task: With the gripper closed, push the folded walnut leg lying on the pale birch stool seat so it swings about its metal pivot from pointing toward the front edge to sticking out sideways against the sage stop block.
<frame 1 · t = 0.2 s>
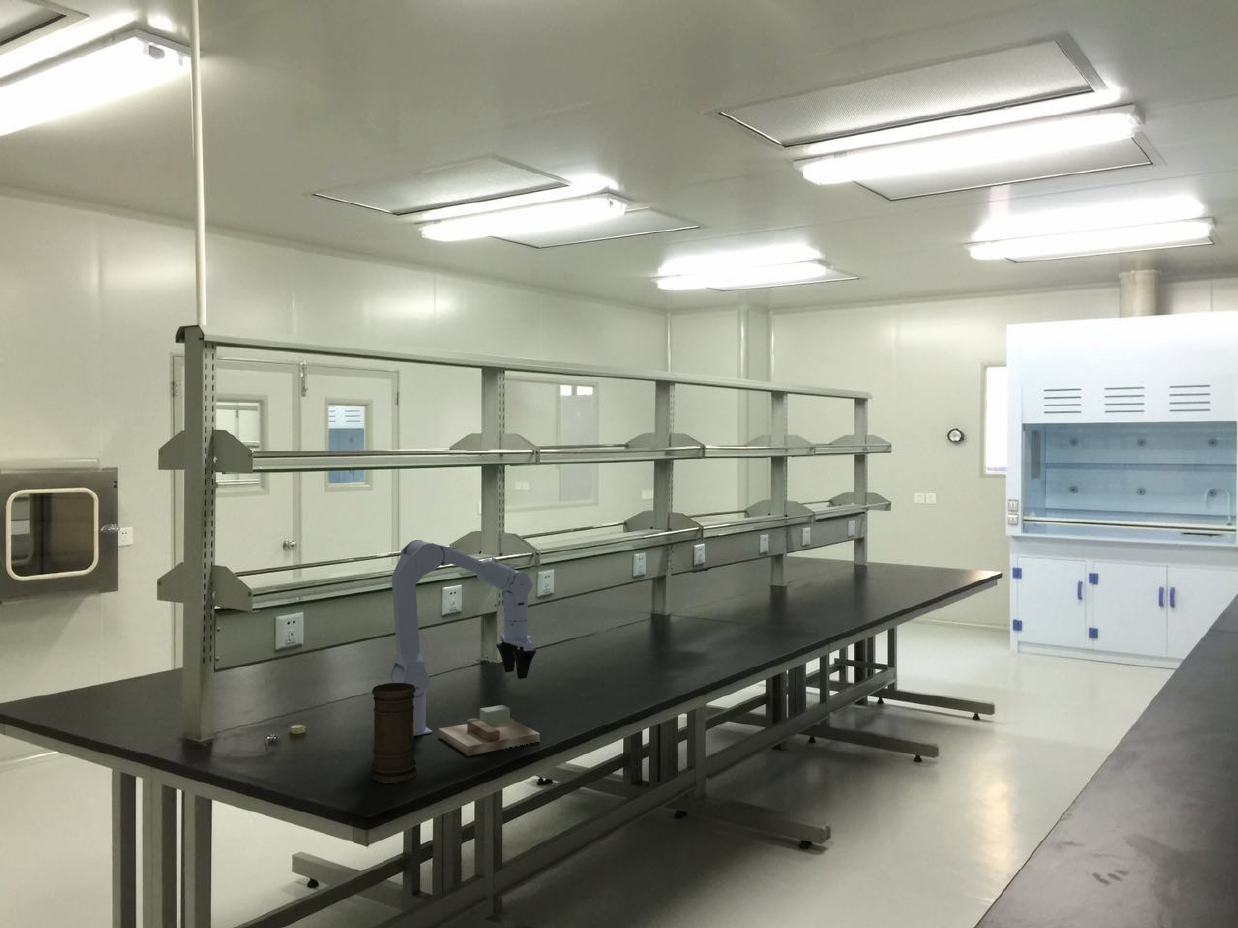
hand: (515, 674, 243), 10 cm above the table, tool pointing down, fingers open, 7 cm apart
stool leg: (482, 729, 220), point 3 cm above the table, hinge at 0.0°
container: (394, 777, 199), on the table
stool seat: (489, 739, 224), on the table
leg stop: (494, 730, 231), resting on stool seat
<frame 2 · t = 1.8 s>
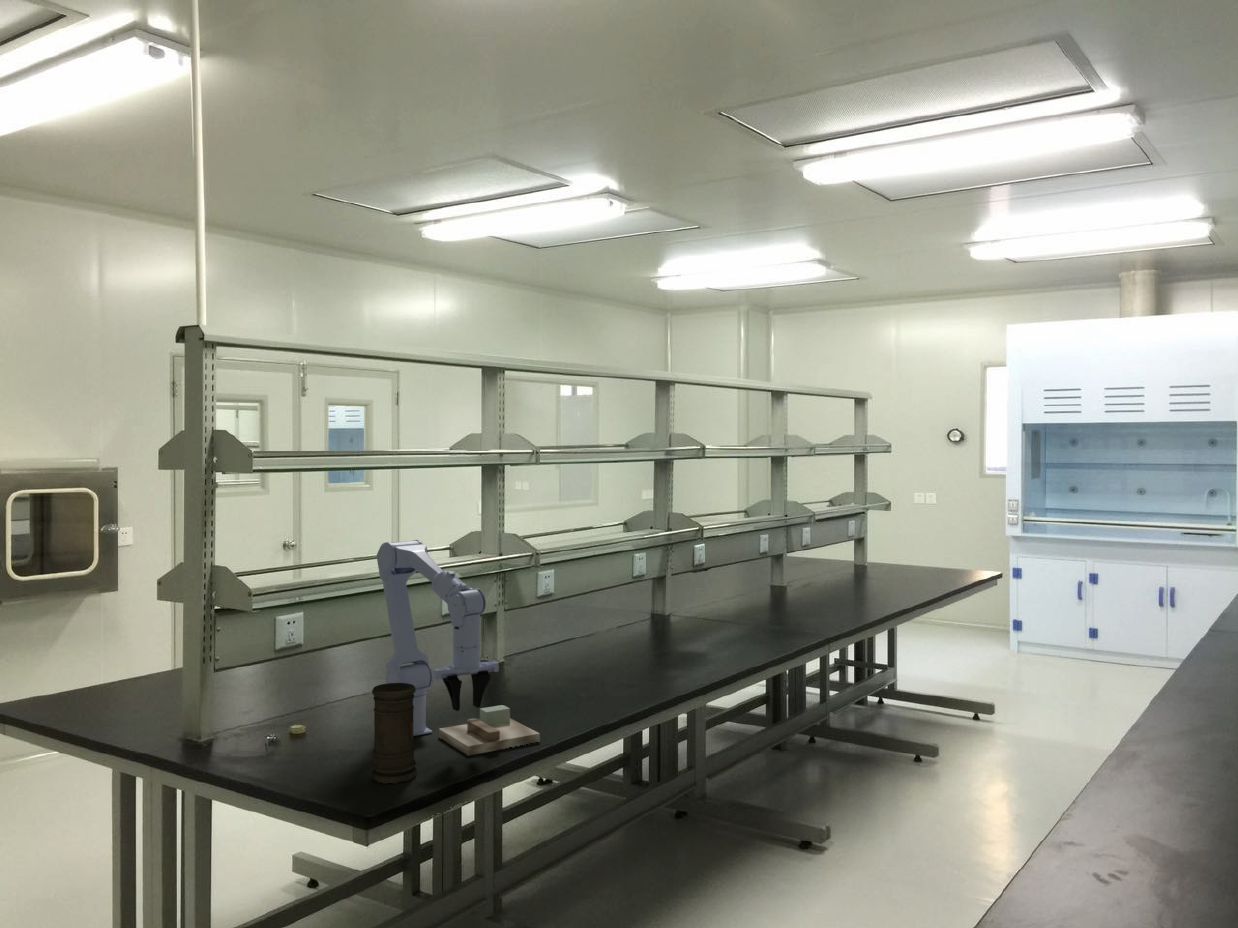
hand: (466, 707, 215), 9 cm above the table, tool pointing down, fingers open, 4 cm apart
nothing on the table moved.
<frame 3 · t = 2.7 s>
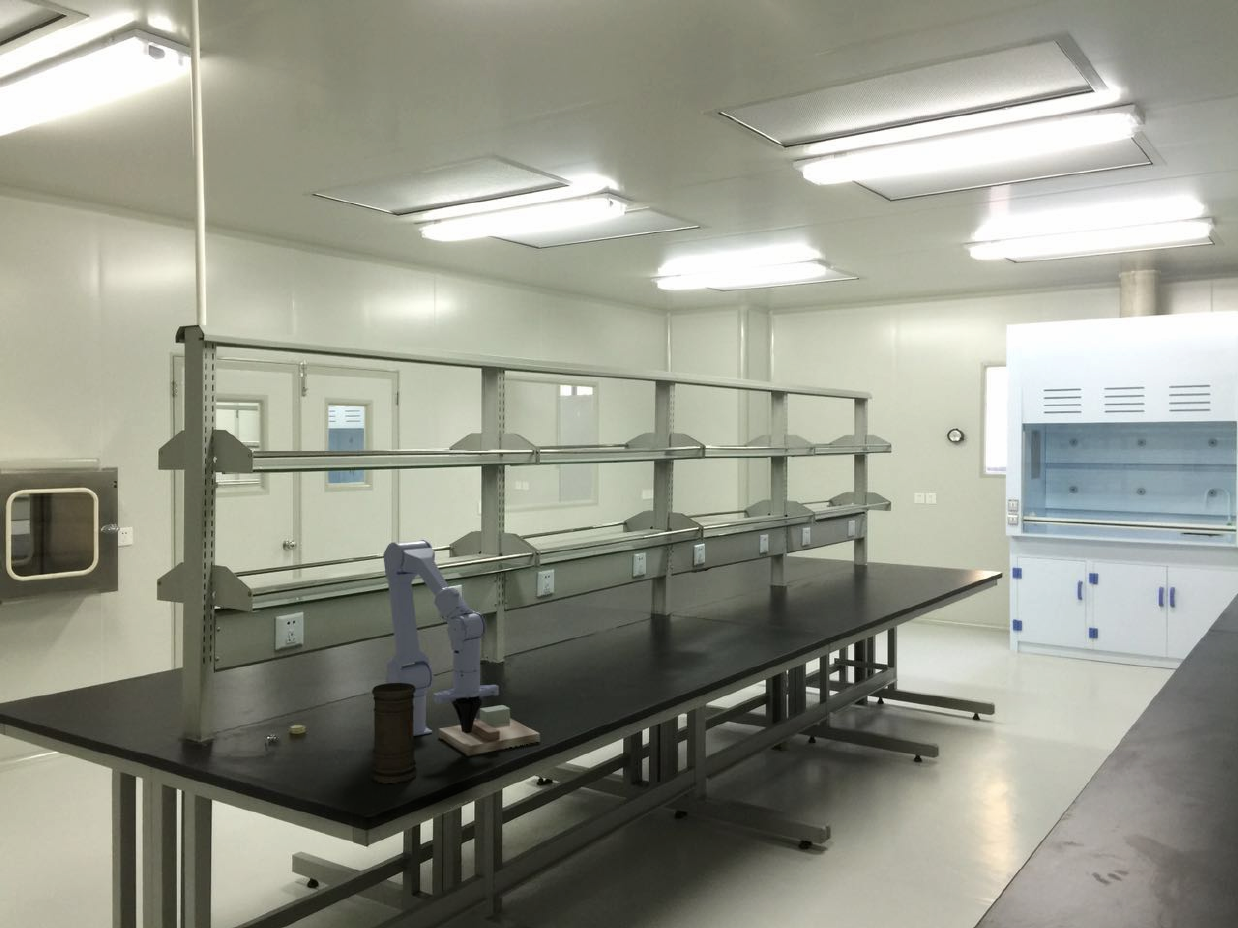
hand: (466, 731, 215), 4 cm above the table, tool pointing down, fingers closed
nothing on the table moved.
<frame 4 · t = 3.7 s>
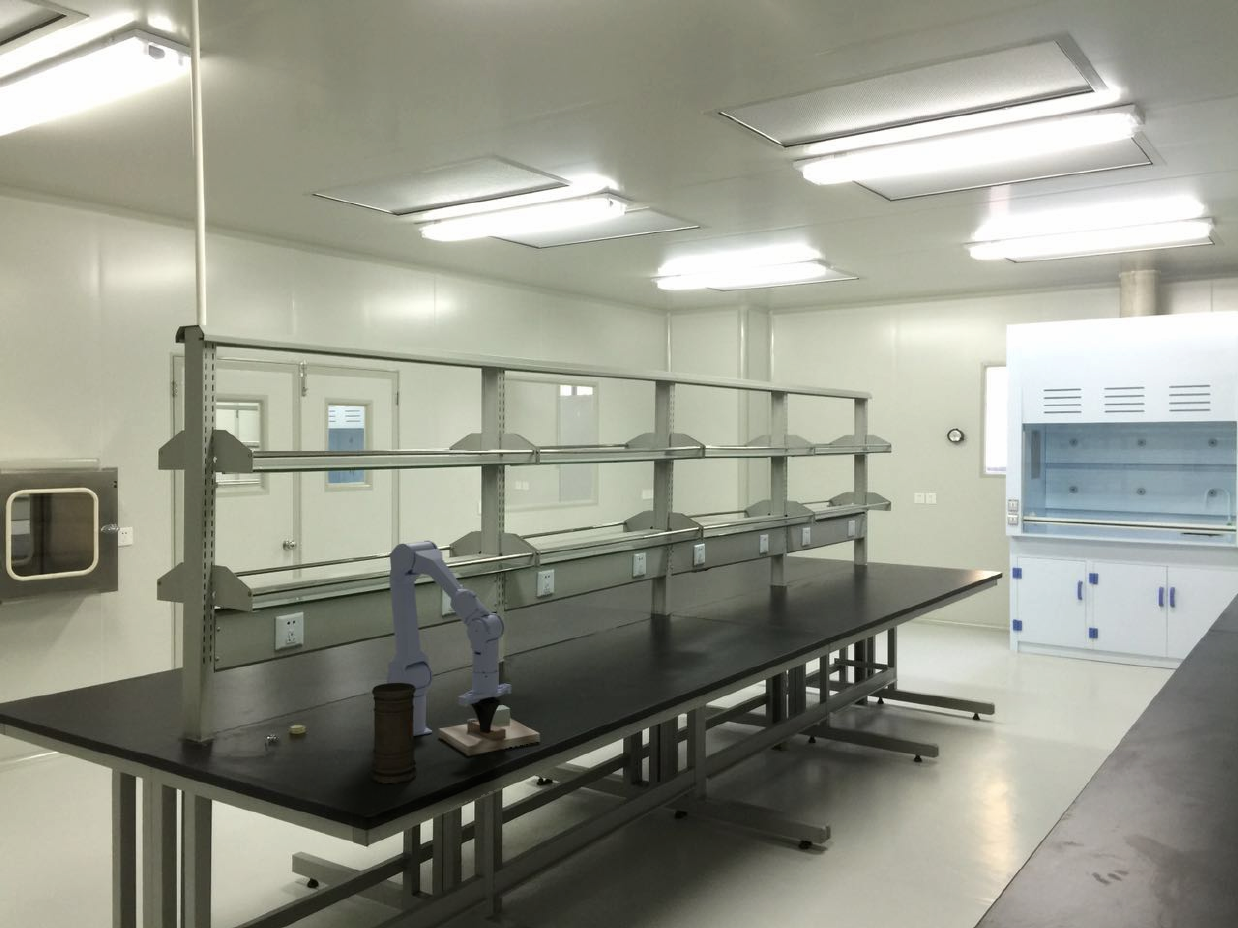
hand: (485, 732, 218), 3 cm above the table, tool pointing down, fingers closed, pressing on stool leg
stool leg: (485, 729, 221), point 3 cm above the table, hinge at 9.1°, touching gripper
everything else where it was.
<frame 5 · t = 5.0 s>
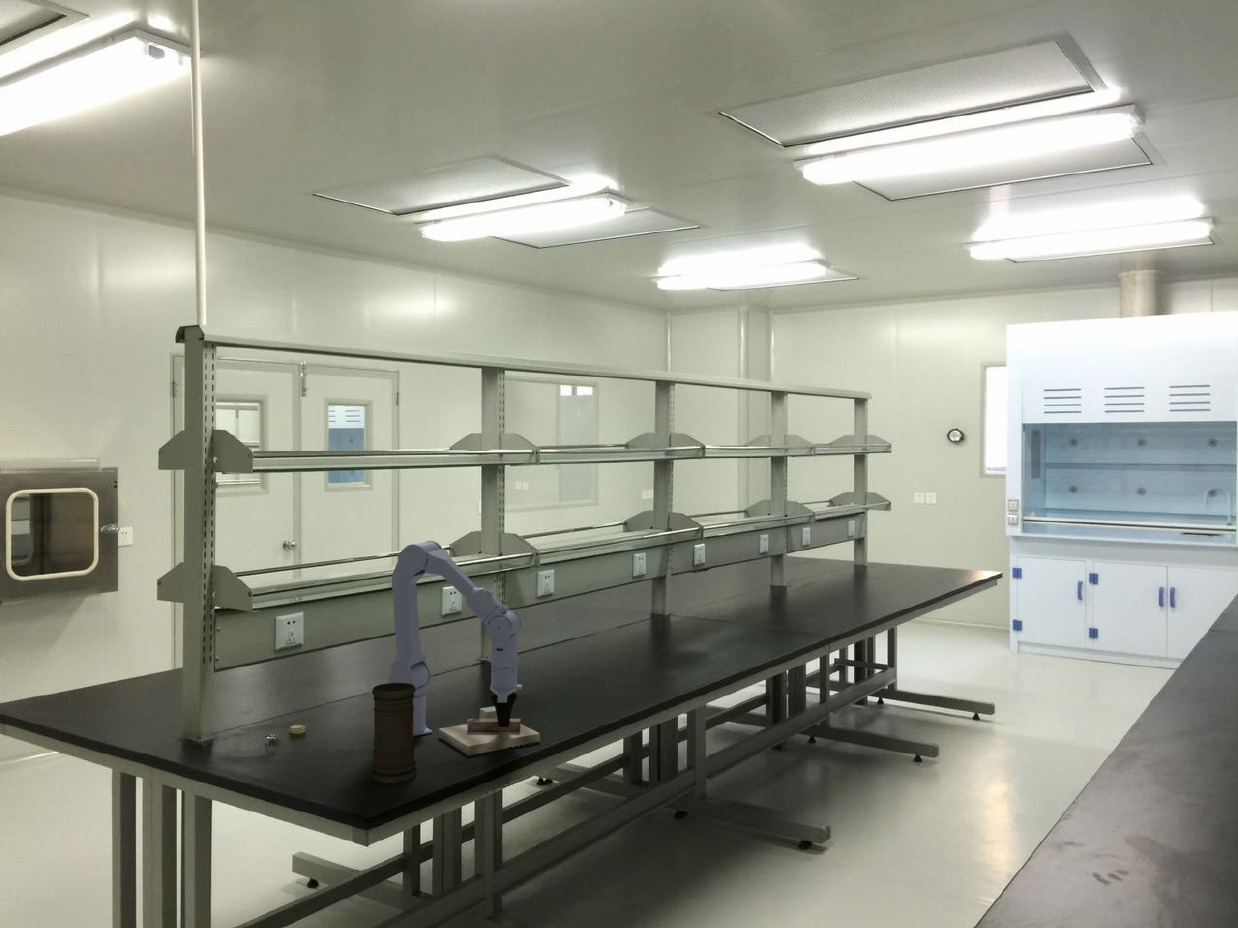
hand: (503, 726, 222), 3 cm above the table, tool pointing down, fingers closed, pressing on stool leg
stool leg: (493, 724, 224), point 3 cm above the table, hinge at 58.1°, touching gripper
everything else where it was.
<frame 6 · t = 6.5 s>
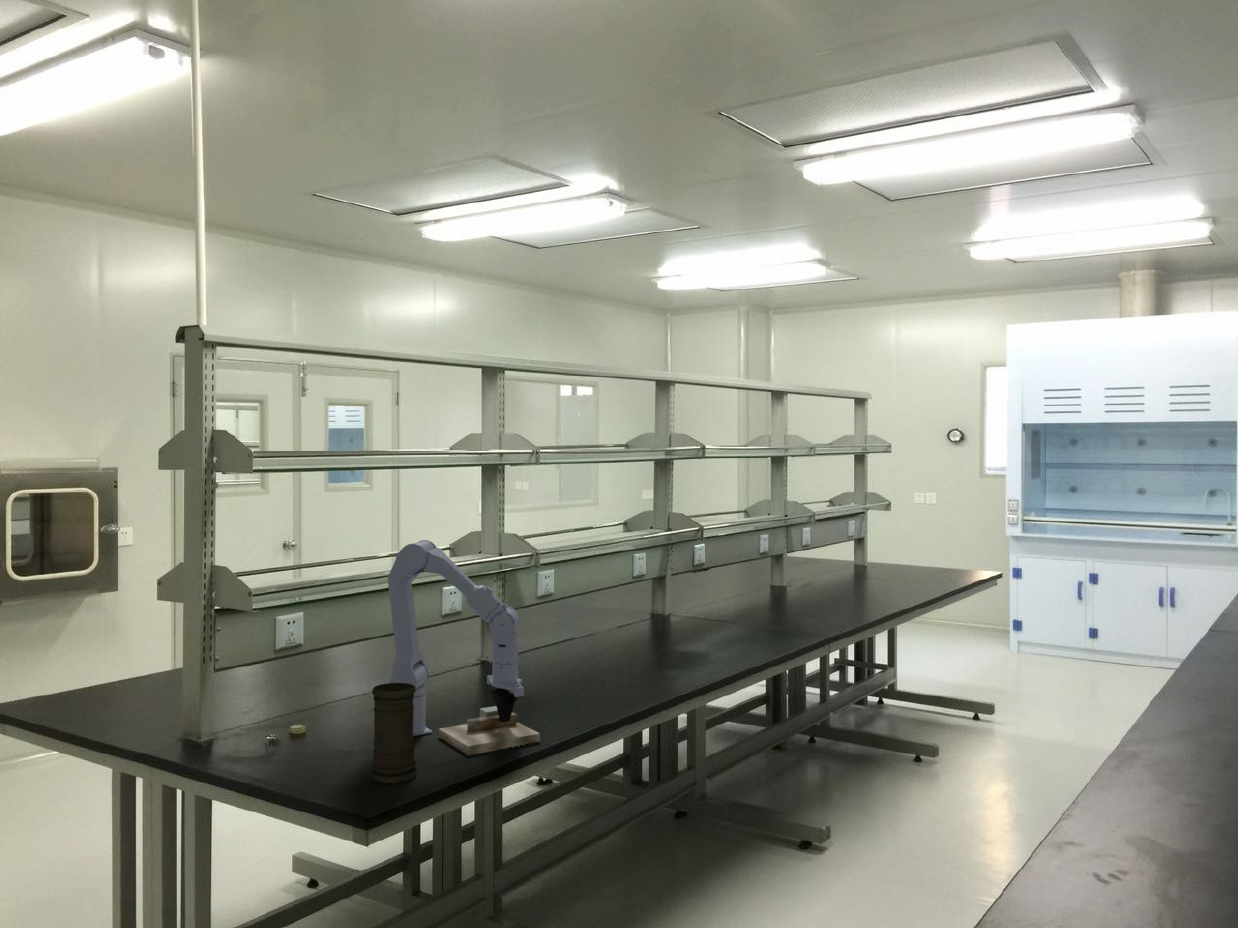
hand: (504, 721, 226), 3 cm above the table, tool pointing down, fingers closed
stool leg: (491, 721, 226), point 3 cm above the table, hinge at 90.9°, touching gripper
everything else where it was.
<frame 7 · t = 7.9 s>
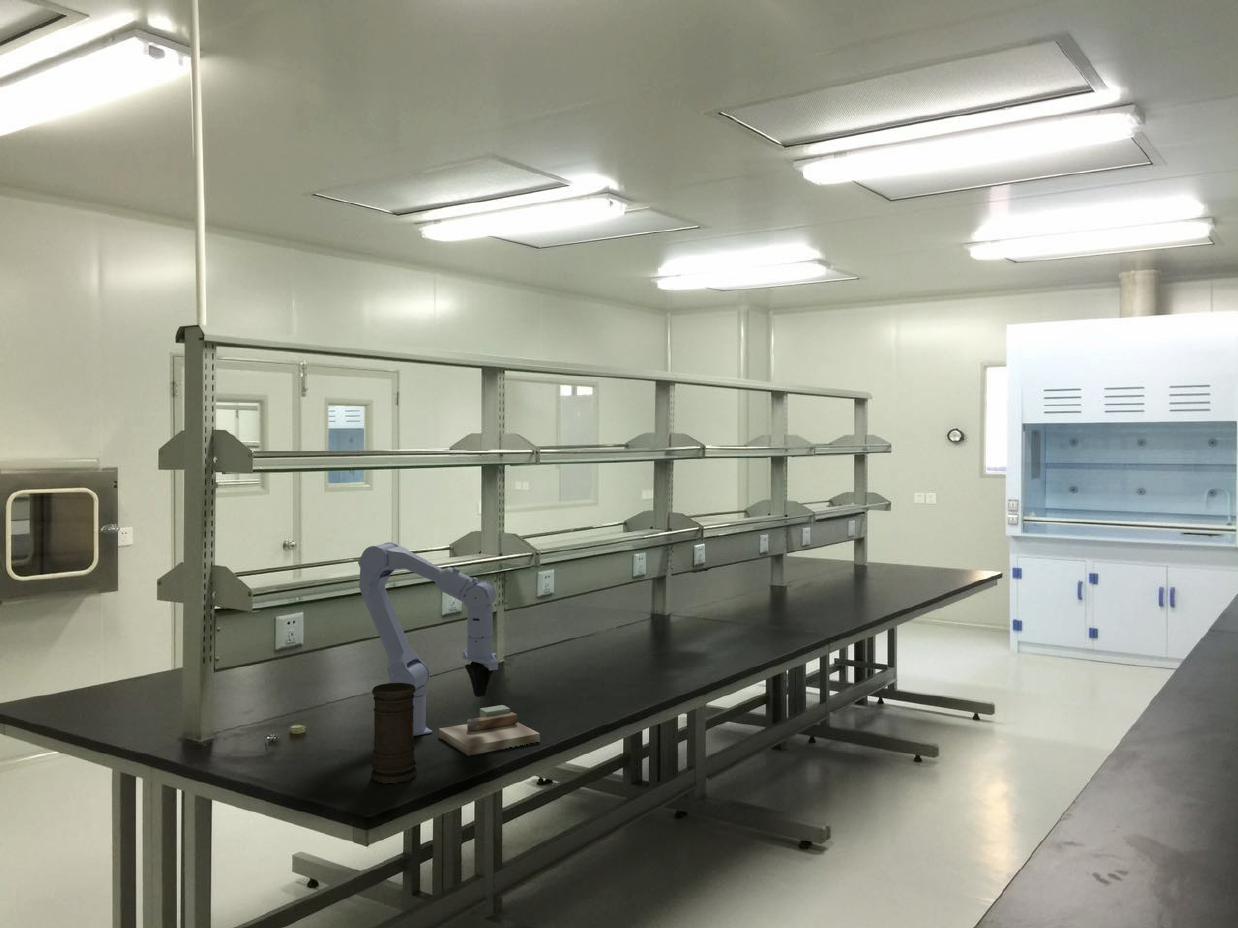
hand: (479, 695, 226), 9 cm above the table, tool pointing down, fingers closed
stool leg: (491, 721, 226), point 3 cm above the table, hinge at 91.0°
everything else where it was.
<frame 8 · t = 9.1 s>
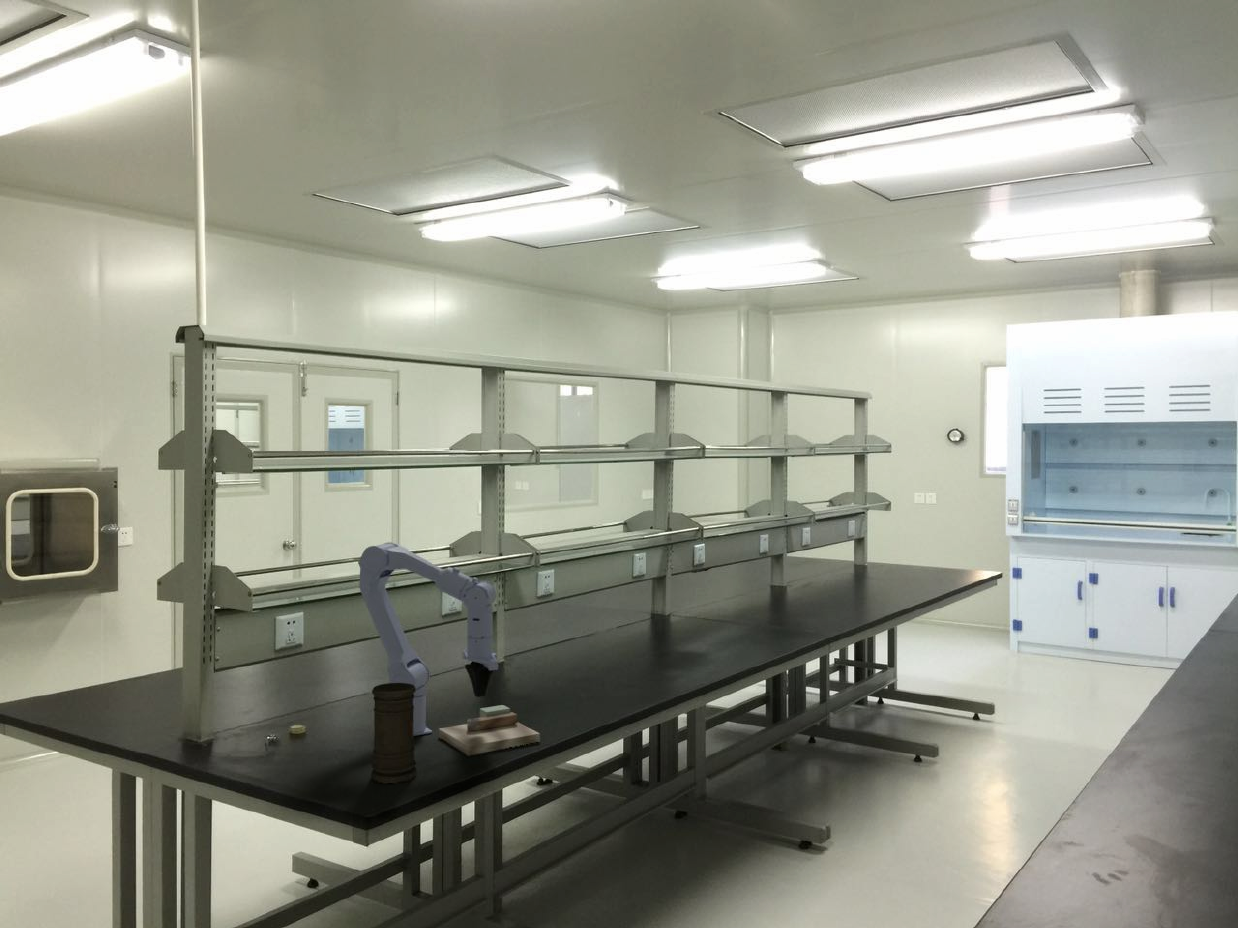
hand: (479, 695, 226), 9 cm above the table, tool pointing down, fingers closed
nothing on the table moved.
at the end: stool leg at +91° (first picture: +0°); container moved 0.2 cm from its start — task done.
